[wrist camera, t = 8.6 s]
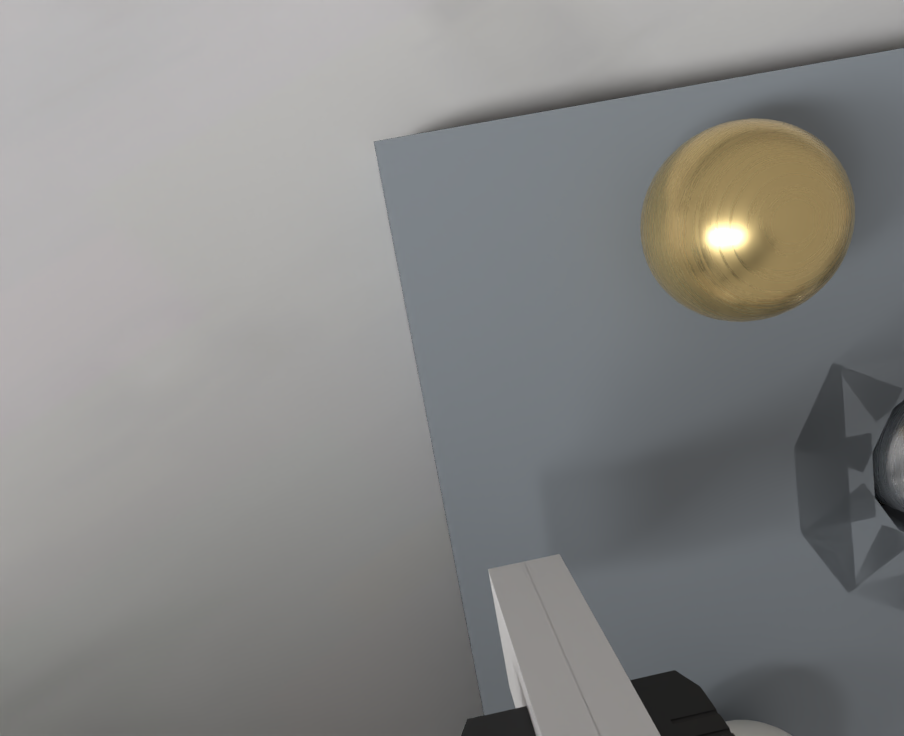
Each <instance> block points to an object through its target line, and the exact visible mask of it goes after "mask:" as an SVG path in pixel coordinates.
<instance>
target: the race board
mask: <svg viewBox="0 0 904 736" xmlns="http://www.w3.org/2000/svg"><path fill="white" fill-rule="evenodd" d="M750 118H758V119H770V120H776V121H782V122H786V123H789V124H792V125H795V126H797V127H799V128H801V129H803V130H805V131H807V132H809V133H811V134H812V135H814V136H815V137H817V138H818V139H819V140H821V141H822V142H823V143H824V144H825V145H826V146H827V147H828V148H829V149H830V150H831V151H832V152H833V153H834V154H835V156H836V157H837V158H838V160H839V161H840V162H841V164H842V166H843V167H844V169H845V171H846V173H847V175H848V178H849V180H850V183H851V186H852V190H853V194H854V202H855V223H854V231H853V235H852V239H851V243H850V245H849V248H848V251H847V253H846V255H845V257H844V259H843V261H842V263H841V265H840V267H839V268H838V270H837V271H836V273H835V274H834V275H833V277H832V278H831V279H830V280H829V281H828V282H827V284H826V285H825V286H824V287H823V288H821V289H820V290H819V291H818V292H817V293H816V294H815V295H814V296H813V297H811V298H810V299H808V300H807V301H806V302H804V303H803V304H801V305H799V306H797V307H796V308H794V309H792V310H790V311H787V312H785V313H782V314H780V315H777V316H775V317H771V318H767V319H763V320H756V321H748V322H731V321H724V320H717V319H713V318H709V317H706V316H703V315H700V314H698V313H696V312H694V311H692V310H690V309H688V308H686V307H684V306H683V305H681V304H680V303H678V302H677V301H676V300H674V299H673V298H672V297H671V296H670V295H669V294H668V293H667V292H666V291H665V290H664V289H663V288H662V287H661V285H660V284H659V283H658V282H657V280H656V279H655V277H654V276H653V274H652V272H651V270H650V268H649V266H648V264H647V262H646V259H645V256H644V252H643V248H642V243H641V233H640V222H641V213H642V207H643V202H644V199H645V196H646V193H647V190H648V188H649V186H650V184H651V182H652V179H653V178H654V176H655V174H656V173H657V171H658V170H659V168H660V167H661V166H662V164H663V163H664V162H665V161H666V159H667V158H668V157H669V156H670V155H671V154H672V153H673V152H674V151H675V150H676V149H677V148H678V147H680V146H681V145H682V144H683V143H685V142H686V141H687V140H689V139H690V138H691V137H693V136H695V135H697V134H699V133H700V132H702V131H704V130H706V129H709V128H711V127H714V126H716V125H719V124H722V123H726V122H730V121H734V120H741V119H750ZM374 145H375V151H376V156H377V161H378V166H379V171H380V177H381V182H382V187H383V192H384V197H385V203H386V208H387V213H388V218H389V223H390V229H391V234H392V239H393V244H394V249H395V255H396V260H397V265H398V270H399V275H400V281H401V286H402V291H403V296H404V301H405V307H406V312H407V317H408V322H409V327H410V333H411V338H412V343H413V348H414V353H415V359H416V364H417V369H418V374H419V379H420V385H421V390H422V395H423V400H424V405H425V410H426V416H427V421H428V426H429V431H430V436H431V442H432V447H433V452H434V457H435V462H436V468H437V473H438V478H439V483H440V488H441V494H442V499H443V504H444V509H445V514H446V520H447V525H448V530H449V535H450V540H451V546H452V551H453V556H454V561H455V566H456V572H457V577H458V582H459V587H460V592H461V598H462V603H463V608H464V613H465V618H466V624H467V629H468V634H469V639H470V644H471V650H472V655H473V660H474V665H475V670H476V676H477V681H478V686H479V691H480V696H481V702H482V707H483V712H484V715H489V714H493V713H498V712H502V711H506V710H511V709H515V705H514V701H513V698H512V694H511V691H510V687H509V682H508V676H507V671H506V665H505V660H504V654H503V649H502V643H501V638H500V632H499V627H498V621H497V616H496V610H495V605H494V599H493V594H492V588H491V583H490V577H489V572H488V569H491V568H496V567H501V566H506V565H510V564H515V563H520V562H524V561H529V560H534V559H538V558H543V557H548V556H552V555H557V554H560V556H561V558H562V560H563V561H564V563H565V565H566V567H567V568H568V570H569V572H570V574H571V576H572V577H573V579H574V581H575V583H576V585H577V586H578V588H579V590H580V592H581V594H582V595H583V597H584V599H585V601H586V603H587V604H588V606H589V608H590V610H591V612H592V613H593V615H594V617H595V619H596V620H597V622H598V624H599V626H600V628H601V629H602V631H603V633H604V635H605V637H606V638H607V640H608V642H609V644H610V646H611V647H612V649H613V651H614V653H615V655H616V656H617V658H618V660H619V662H620V664H621V665H622V667H623V669H624V671H625V672H626V674H627V676H628V678H629V680H633V679H638V678H642V677H646V676H651V675H655V674H660V673H664V672H669V671H673V670H675V671H677V672H679V673H680V674H682V675H683V676H685V677H686V678H688V679H689V680H691V681H692V682H694V683H696V684H697V685H699V686H700V687H701V688H702V690H703V691H704V692H705V694H706V695H707V697H708V698H709V700H710V701H711V702H712V704H713V705H714V707H715V708H716V710H717V713H718V714H720V715H721V717H722V718H723V719H724V721H731V720H752V721H758V722H763V723H766V724H769V725H772V726H774V727H777V728H779V729H781V730H783V731H785V732H787V733H789V734H790V735H792V736H904V512H901V511H899V510H896V509H894V508H892V507H890V506H888V505H882V506H881V505H880V504H879V503H878V501H877V500H876V499H875V492H874V475H873V458H872V452H873V450H874V448H875V446H876V444H877V442H878V440H879V438H880V435H881V433H882V431H883V429H884V427H885V425H886V423H887V421H888V418H889V416H890V414H891V412H892V410H893V408H895V407H896V406H897V405H898V404H900V403H901V402H902V401H903V400H904V48H900V49H895V50H889V51H883V52H878V53H872V54H866V55H861V56H855V57H849V58H844V59H838V60H832V61H827V62H821V63H815V64H810V65H804V66H798V67H793V68H787V69H782V70H776V71H770V72H765V73H759V74H753V75H748V76H742V77H736V78H731V79H725V80H719V81H714V82H708V83H702V84H697V85H691V86H685V87H680V88H674V89H668V90H663V91H657V92H651V93H646V94H640V95H634V96H629V97H623V98H617V99H612V100H606V101H600V102H595V103H589V104H583V105H578V106H572V107H566V108H561V109H555V110H550V111H544V112H538V113H533V114H527V115H521V116H516V117H510V118H504V119H499V120H493V121H487V122H482V123H476V124H470V125H465V126H459V127H453V128H448V129H442V130H436V131H431V132H425V133H419V134H414V135H408V136H402V137H397V138H391V139H385V140H380V141H374Z"/></svg>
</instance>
